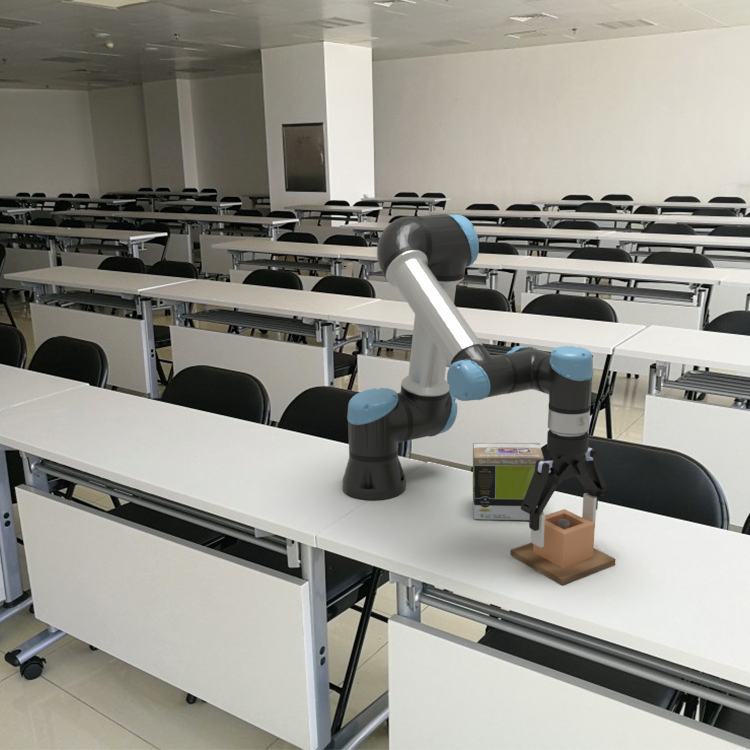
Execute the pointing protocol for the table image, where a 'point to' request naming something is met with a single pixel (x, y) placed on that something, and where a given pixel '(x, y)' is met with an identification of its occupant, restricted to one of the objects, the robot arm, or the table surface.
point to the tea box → (503, 479)
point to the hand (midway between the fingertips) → (563, 535)
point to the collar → (566, 539)
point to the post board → (567, 573)
